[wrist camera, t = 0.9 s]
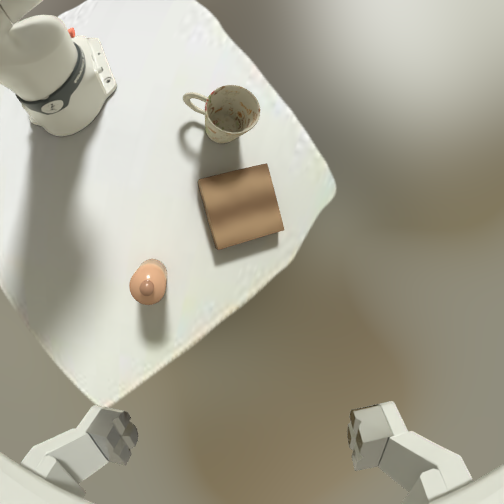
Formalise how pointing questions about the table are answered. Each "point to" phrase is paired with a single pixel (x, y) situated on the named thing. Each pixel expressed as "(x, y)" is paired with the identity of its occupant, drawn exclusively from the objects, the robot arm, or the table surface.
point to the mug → (227, 112)
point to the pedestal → (240, 205)
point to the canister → (149, 282)
